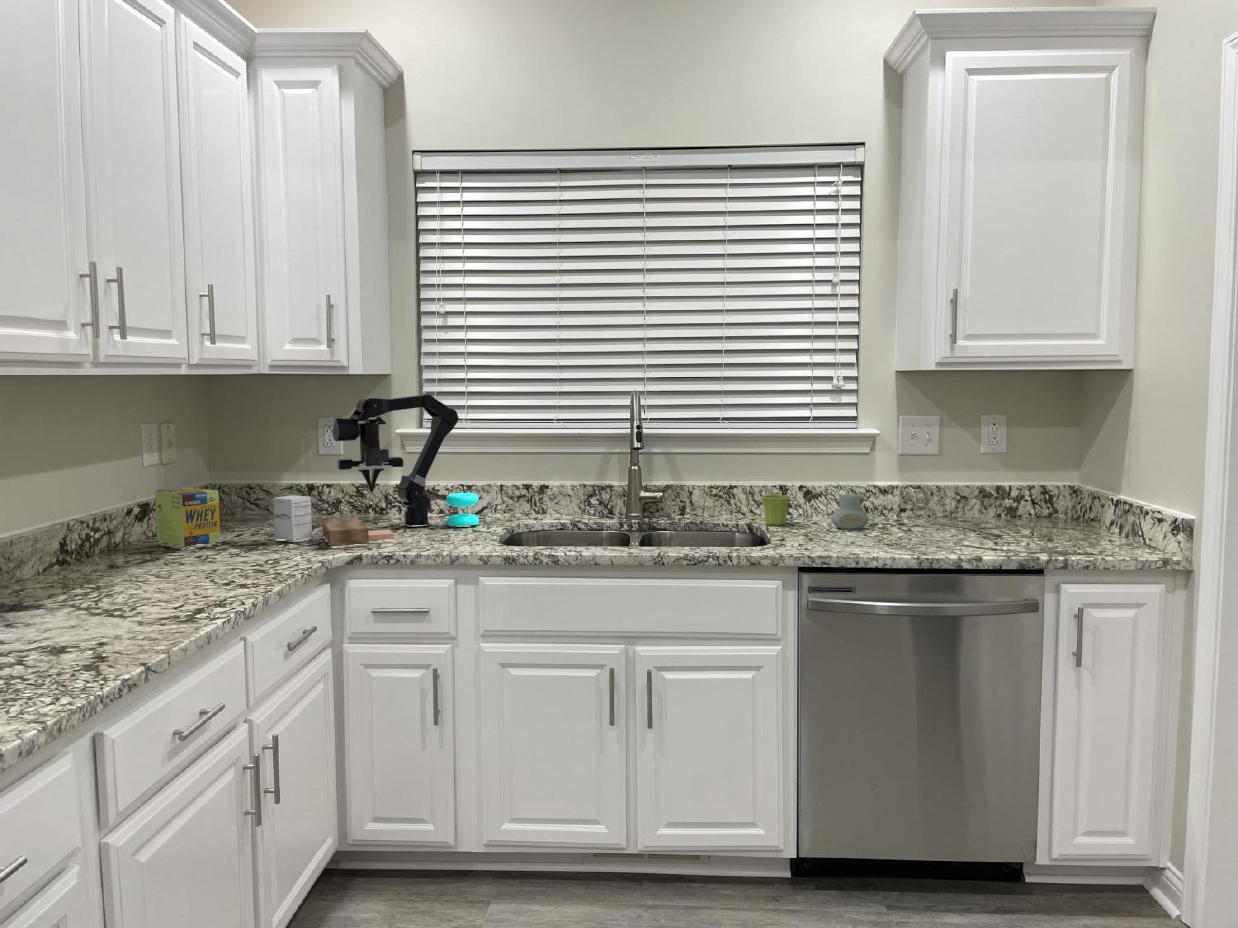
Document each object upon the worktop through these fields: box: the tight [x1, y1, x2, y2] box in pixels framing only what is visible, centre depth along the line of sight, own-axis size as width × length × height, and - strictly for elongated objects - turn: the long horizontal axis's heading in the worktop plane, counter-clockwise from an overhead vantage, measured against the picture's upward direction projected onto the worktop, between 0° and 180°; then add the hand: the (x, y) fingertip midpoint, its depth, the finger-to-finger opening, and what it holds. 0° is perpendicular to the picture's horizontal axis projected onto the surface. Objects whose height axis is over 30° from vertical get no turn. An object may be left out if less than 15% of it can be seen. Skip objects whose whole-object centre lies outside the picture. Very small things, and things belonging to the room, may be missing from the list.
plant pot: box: [759, 494, 792, 526], centre depth 277 cm, size 9×9×9 cm
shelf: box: [321, 518, 369, 547], centre depth 252 cm, size 10×20×5 cm, turn 24°
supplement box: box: [273, 495, 313, 540], centre depth 254 cm, size 7×7×13 cm
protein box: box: [154, 487, 222, 547], centre depth 248 cm, size 10×15×16 cm
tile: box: [368, 529, 394, 541], centre depth 251 cm, size 15×8×3 cm, turn 111°
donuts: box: [445, 492, 480, 526], centre depth 279 cm, size 10×10×10 cm
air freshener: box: [830, 493, 870, 531], centre depth 267 cm, size 11×8×10 cm
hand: (371, 491), depth 270 cm, fingers closed
